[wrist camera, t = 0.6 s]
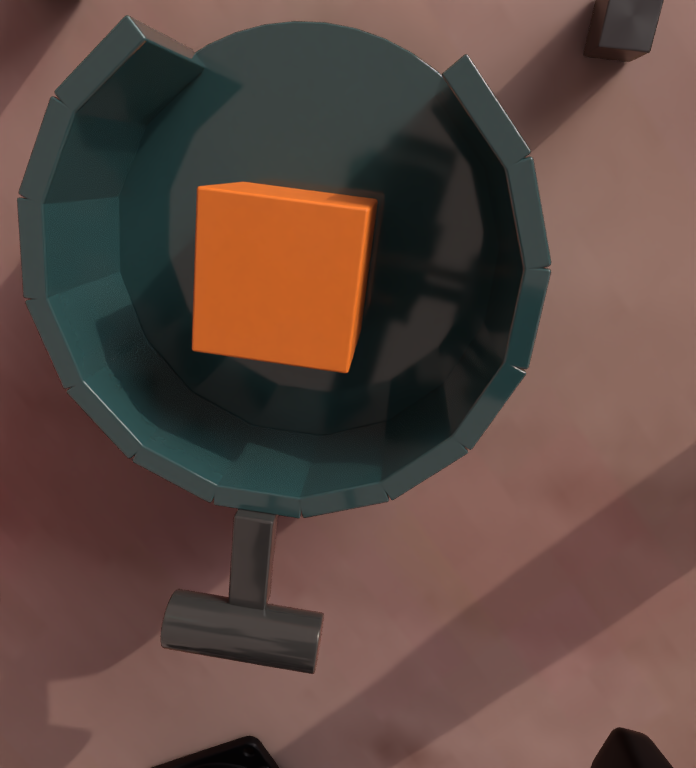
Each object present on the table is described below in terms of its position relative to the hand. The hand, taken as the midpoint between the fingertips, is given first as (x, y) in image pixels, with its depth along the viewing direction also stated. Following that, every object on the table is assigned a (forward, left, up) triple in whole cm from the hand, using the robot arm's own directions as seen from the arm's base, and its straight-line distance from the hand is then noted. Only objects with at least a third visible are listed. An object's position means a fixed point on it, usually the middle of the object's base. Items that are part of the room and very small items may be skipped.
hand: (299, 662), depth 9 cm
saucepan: (-2, +2, -14) cm, 14 cm away
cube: (0, +4, -13) cm, 14 cm away
